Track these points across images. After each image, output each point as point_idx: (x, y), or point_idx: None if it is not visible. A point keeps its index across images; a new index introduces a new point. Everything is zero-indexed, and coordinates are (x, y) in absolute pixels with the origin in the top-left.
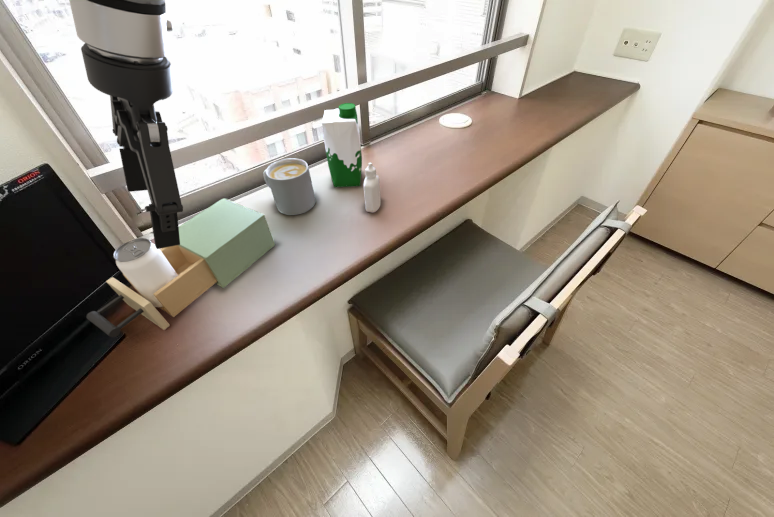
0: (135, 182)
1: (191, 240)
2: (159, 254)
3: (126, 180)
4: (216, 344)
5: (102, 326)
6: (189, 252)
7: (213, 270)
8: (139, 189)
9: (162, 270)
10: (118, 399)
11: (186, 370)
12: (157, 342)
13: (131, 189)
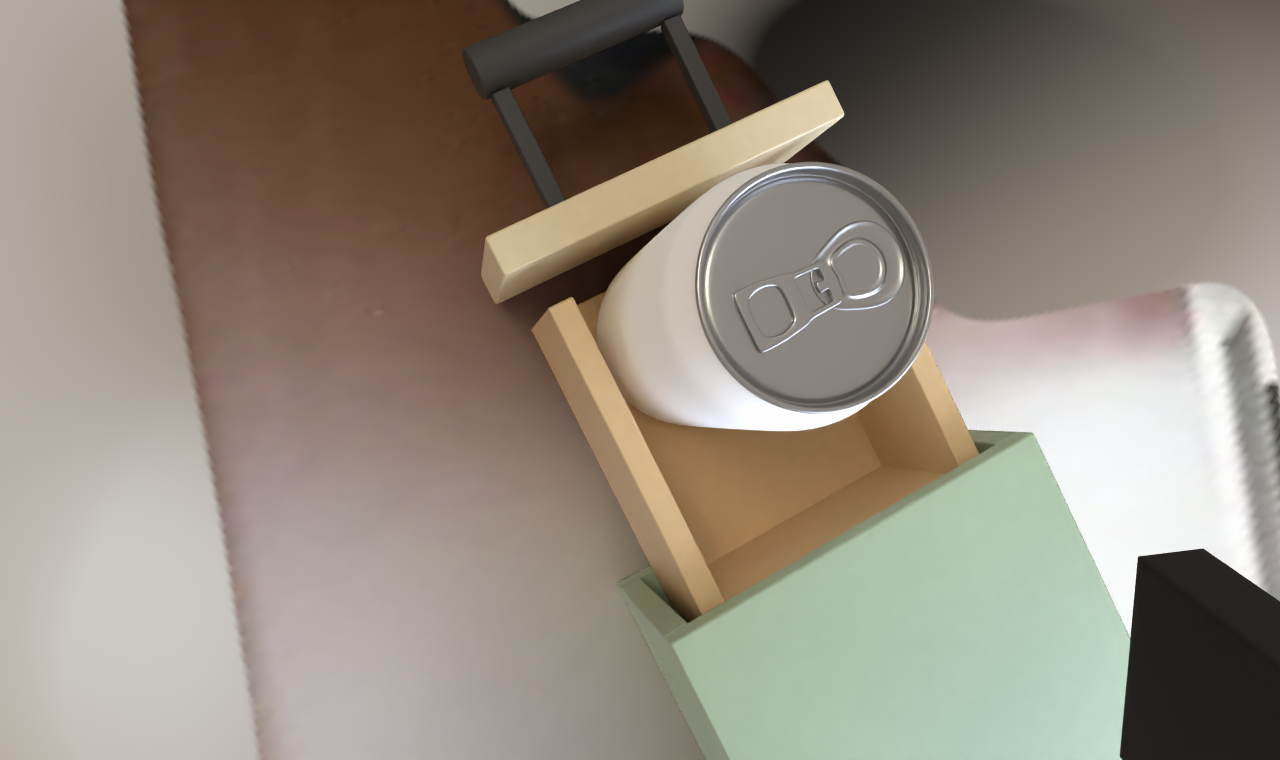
0: (1220, 725)
1: (895, 584)
2: (744, 423)
3: (1270, 662)
4: (261, 477)
5: (534, 27)
6: (853, 526)
7: (645, 617)
8: (1139, 676)
9: (668, 392)
10: (219, 39)
11: (192, 322)
12: (447, 231)
13: (1154, 606)
